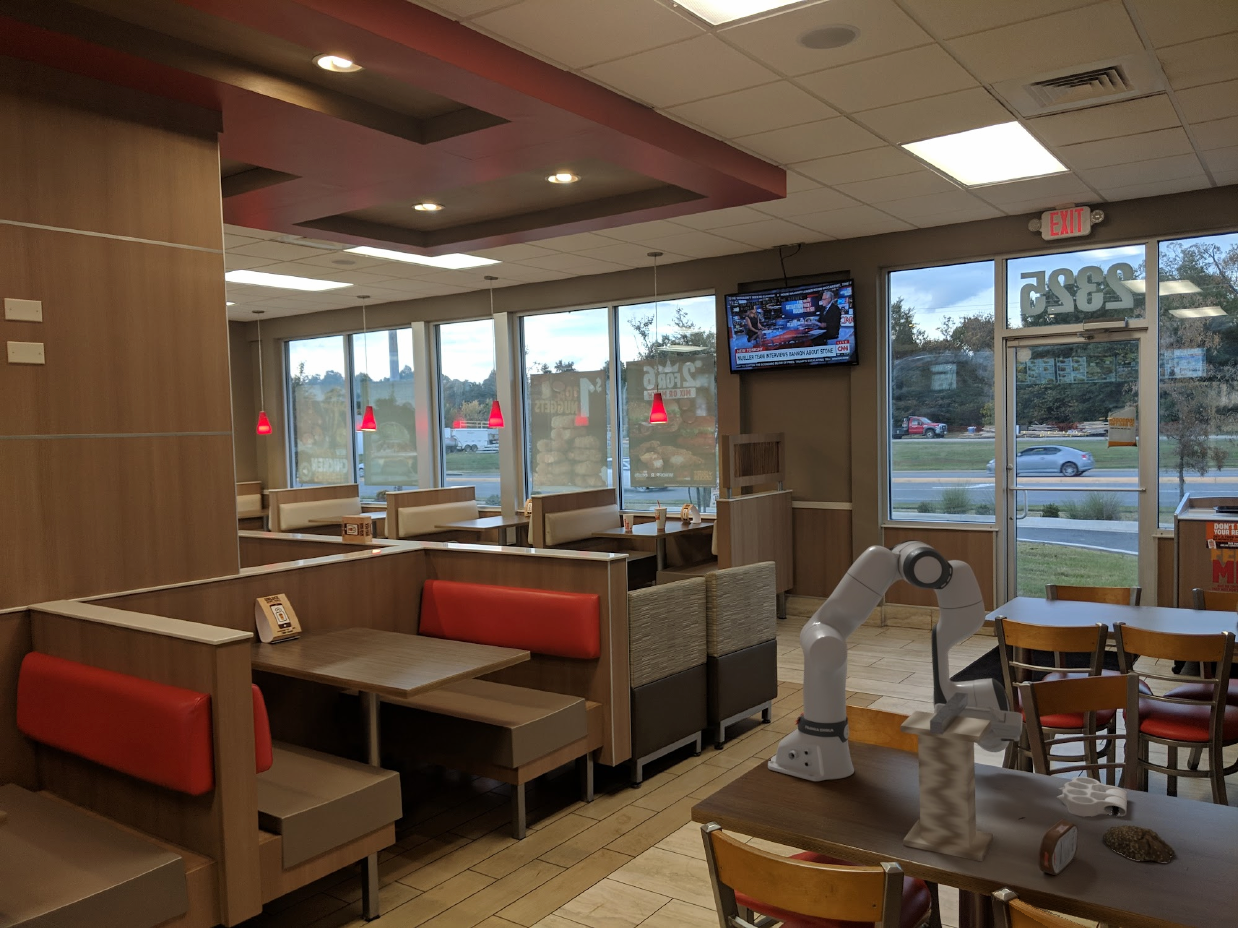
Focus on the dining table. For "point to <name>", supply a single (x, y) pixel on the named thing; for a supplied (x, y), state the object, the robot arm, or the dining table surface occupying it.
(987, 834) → the shelf stand
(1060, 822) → the tin
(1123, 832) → the bread roll
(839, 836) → the dining table surface
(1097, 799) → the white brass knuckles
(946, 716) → the bar
